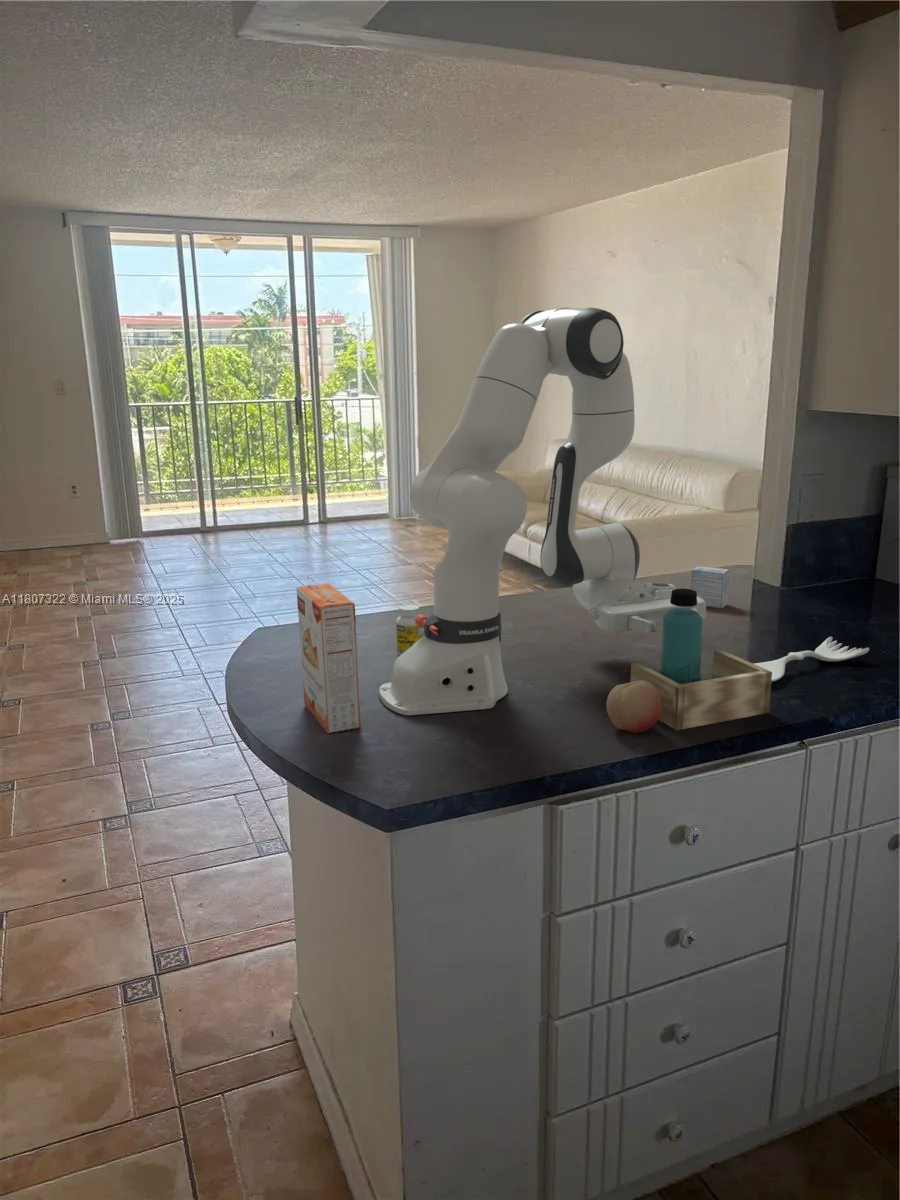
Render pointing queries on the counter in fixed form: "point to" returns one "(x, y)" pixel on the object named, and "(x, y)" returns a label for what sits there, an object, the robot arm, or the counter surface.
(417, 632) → the supplement bottle
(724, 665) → the box
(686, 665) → the beverage bottle
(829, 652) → the white long slender part
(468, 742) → the counter surface
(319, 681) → the cracker box
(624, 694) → the fruit
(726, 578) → the medicine box
